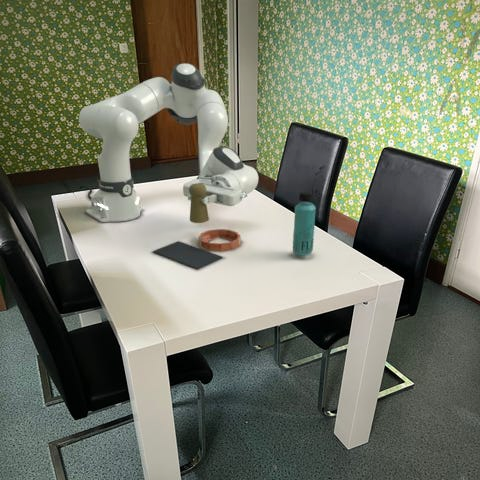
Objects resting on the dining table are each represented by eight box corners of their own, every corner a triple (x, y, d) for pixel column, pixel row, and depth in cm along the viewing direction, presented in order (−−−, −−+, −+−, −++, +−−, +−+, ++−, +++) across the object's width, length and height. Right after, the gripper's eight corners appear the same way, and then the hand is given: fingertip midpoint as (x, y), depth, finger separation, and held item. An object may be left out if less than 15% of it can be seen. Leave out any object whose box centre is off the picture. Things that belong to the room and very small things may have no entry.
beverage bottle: (299, 261, 142) (303, 196, 132) (287, 253, 147) (290, 191, 137) (316, 257, 145) (322, 193, 134) (304, 250, 150) (309, 188, 139)
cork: (211, 217, 146) (210, 182, 140) (204, 223, 141) (202, 187, 136) (194, 215, 148) (192, 180, 142) (186, 221, 143) (183, 186, 137)
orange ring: (190, 244, 155) (190, 237, 153) (218, 232, 163) (218, 226, 162) (220, 254, 147) (220, 247, 146) (248, 242, 156) (248, 235, 154)
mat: (153, 252, 149) (153, 251, 148) (178, 242, 156) (178, 241, 155) (197, 269, 138) (197, 268, 137) (222, 258, 145) (222, 256, 144)
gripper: (250, 204, 146) (223, 216, 137) (200, 193, 157) (172, 203, 147) (250, 184, 143) (222, 194, 134) (199, 174, 153) (170, 183, 144)
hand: (195, 199), depth 141 cm, fingers closed on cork, 4 cm apart
